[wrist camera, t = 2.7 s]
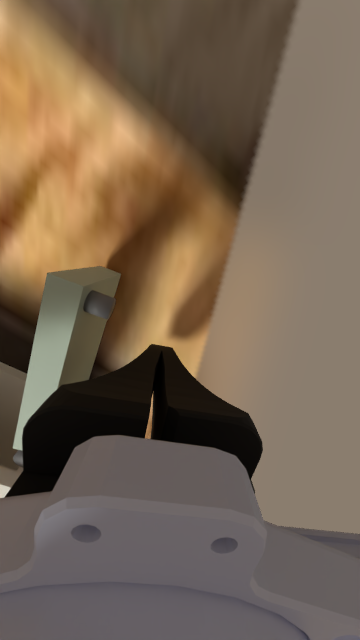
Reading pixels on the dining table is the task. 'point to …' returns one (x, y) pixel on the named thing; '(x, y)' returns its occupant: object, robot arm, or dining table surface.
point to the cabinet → (9, 423)
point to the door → (66, 336)
